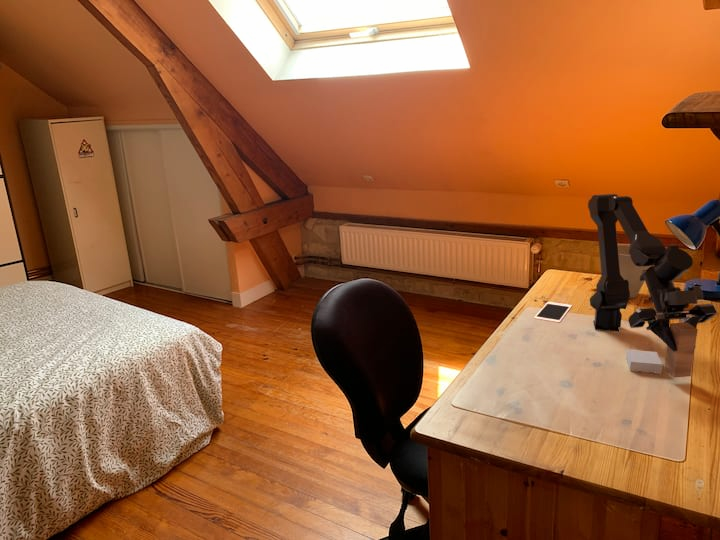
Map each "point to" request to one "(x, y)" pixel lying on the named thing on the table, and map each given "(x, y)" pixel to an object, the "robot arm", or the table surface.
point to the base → (643, 361)
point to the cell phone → (553, 312)
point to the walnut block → (681, 350)
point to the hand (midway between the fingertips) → (684, 350)
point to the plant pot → (630, 270)
